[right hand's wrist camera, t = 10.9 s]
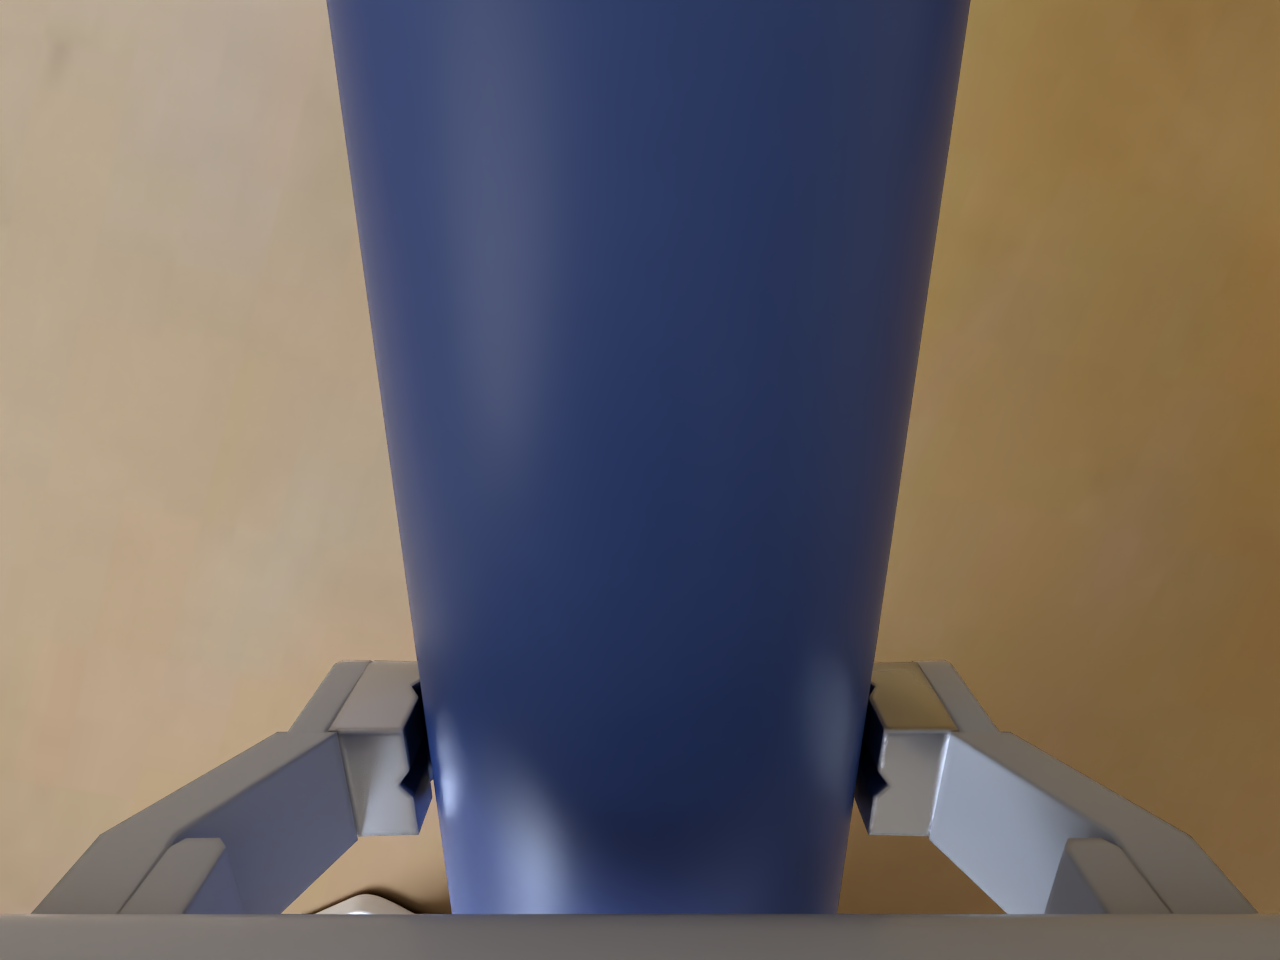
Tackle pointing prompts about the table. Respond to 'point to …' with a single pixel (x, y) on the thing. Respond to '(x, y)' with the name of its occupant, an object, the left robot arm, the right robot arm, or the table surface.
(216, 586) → the table surface
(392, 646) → the table surface
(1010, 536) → the table surface
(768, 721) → the rod
